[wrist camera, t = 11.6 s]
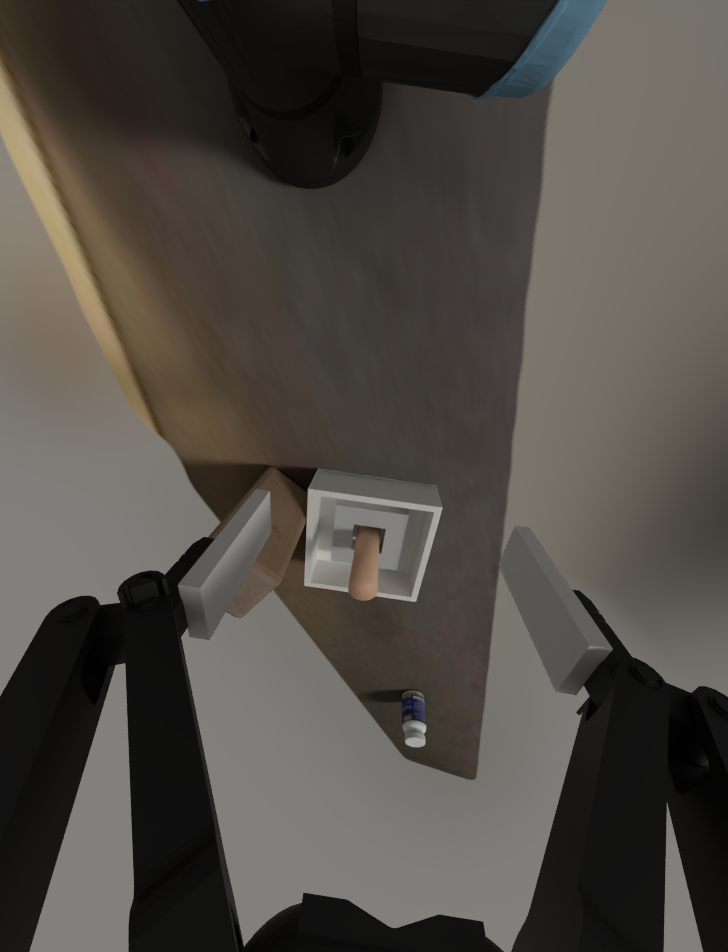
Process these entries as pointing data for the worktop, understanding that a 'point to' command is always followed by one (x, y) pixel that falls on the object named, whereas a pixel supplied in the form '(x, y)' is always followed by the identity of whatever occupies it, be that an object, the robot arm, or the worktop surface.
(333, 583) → the tub
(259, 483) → the wooden block
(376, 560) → the peg
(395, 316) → the worktop surface
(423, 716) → the pill bottle
